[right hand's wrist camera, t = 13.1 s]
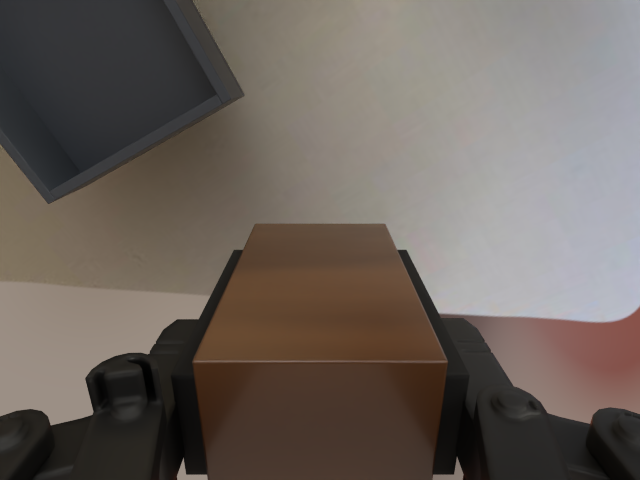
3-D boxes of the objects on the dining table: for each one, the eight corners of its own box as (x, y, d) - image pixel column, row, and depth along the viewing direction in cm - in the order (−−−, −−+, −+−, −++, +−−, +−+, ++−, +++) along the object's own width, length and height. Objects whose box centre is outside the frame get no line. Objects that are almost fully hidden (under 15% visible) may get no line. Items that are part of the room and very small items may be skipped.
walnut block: (254, 223, 14) (190, 361, 7) (385, 223, 14) (449, 361, 7) (261, 334, 16) (214, 536, 9) (379, 334, 16) (425, 536, 9)
